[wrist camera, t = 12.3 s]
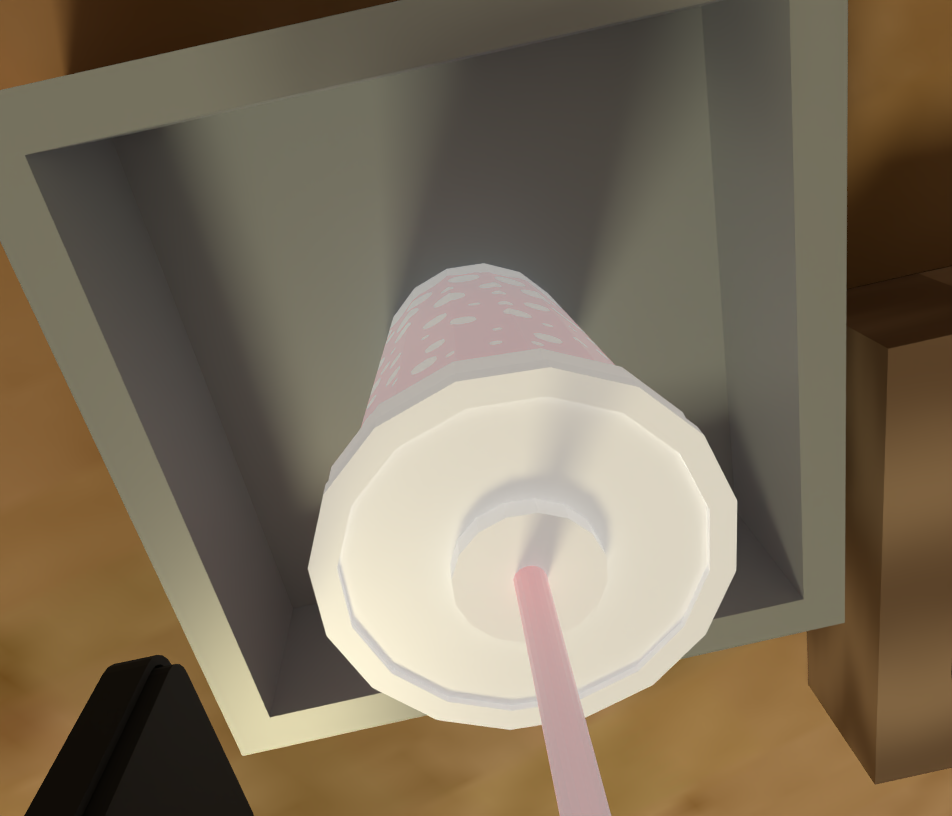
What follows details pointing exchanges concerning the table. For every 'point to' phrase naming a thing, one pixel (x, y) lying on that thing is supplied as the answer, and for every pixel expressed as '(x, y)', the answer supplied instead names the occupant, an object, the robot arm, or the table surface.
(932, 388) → the holder block
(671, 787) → the table surface
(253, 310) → the tray
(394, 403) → the beverage cup
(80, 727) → the robot arm
